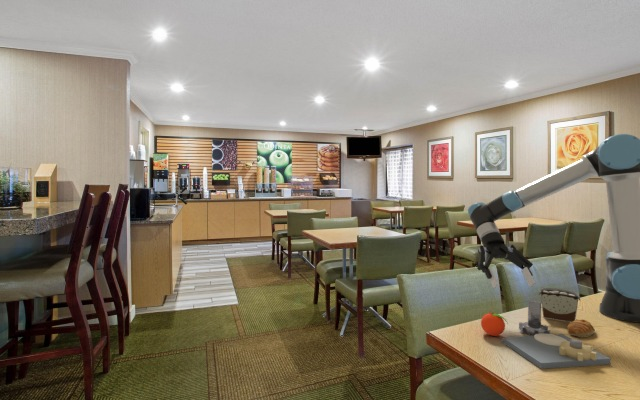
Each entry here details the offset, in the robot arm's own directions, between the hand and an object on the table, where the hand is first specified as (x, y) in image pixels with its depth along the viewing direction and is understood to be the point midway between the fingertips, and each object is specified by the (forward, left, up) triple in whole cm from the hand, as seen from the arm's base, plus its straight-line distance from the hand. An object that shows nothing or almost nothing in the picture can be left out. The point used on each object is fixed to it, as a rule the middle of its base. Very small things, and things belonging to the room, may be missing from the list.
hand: (514, 285), depth 124 cm
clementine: (+14, +10, -13) cm, 21 cm away
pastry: (-15, +11, -13) cm, 23 cm away
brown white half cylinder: (-19, -2, -13) cm, 23 cm away
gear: (-1, +9, -13) cm, 16 cm away
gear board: (+4, +23, -13) cm, 27 cm away
